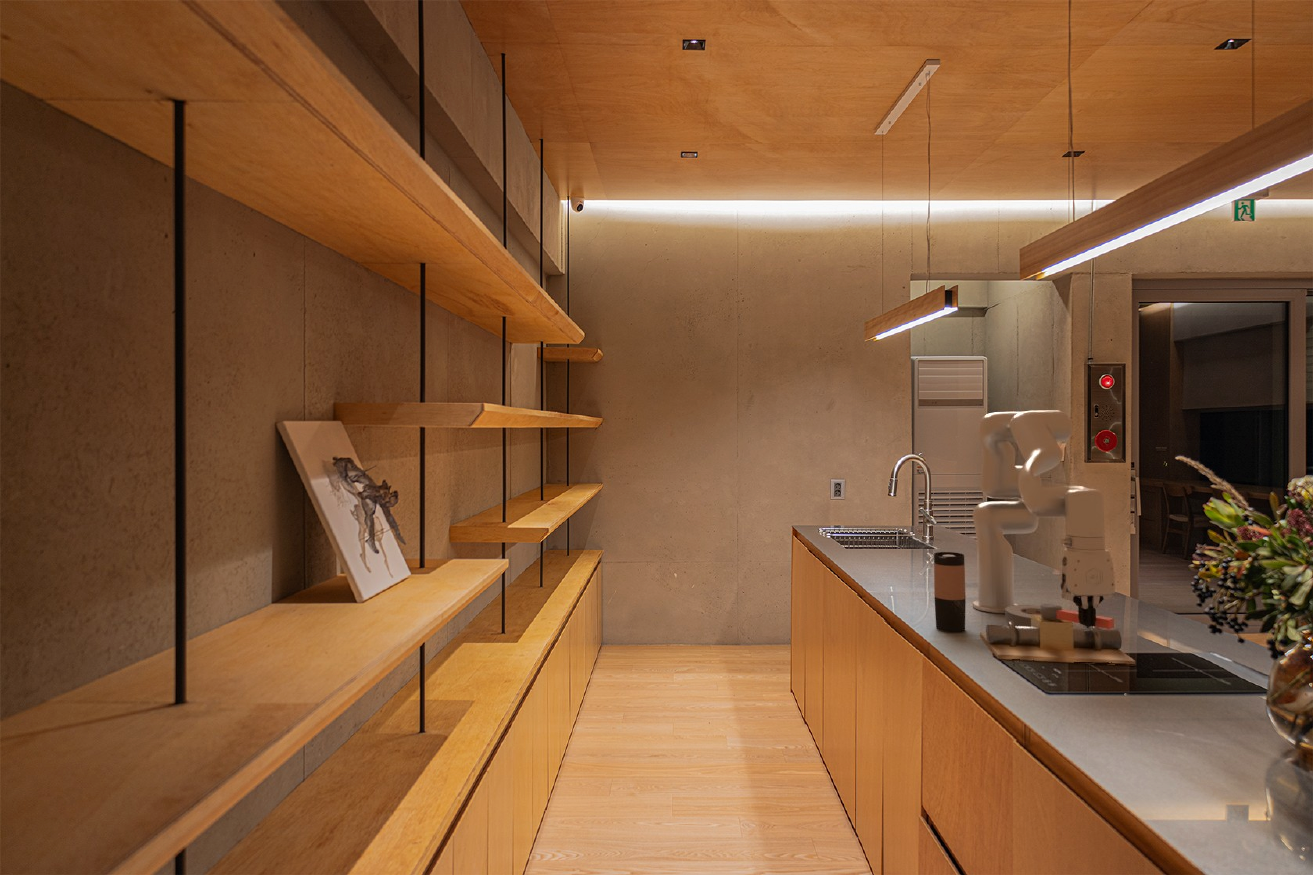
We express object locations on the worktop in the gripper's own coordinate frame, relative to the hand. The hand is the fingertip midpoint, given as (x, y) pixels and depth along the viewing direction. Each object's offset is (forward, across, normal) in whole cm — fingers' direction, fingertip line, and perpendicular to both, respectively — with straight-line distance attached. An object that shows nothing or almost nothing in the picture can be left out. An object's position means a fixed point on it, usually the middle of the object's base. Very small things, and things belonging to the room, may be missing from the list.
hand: (1087, 624), depth 155 cm
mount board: (+8, -3, +10) cm, 13 cm away
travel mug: (+8, -18, +29) cm, 35 cm away
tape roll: (+9, +4, +27) cm, 28 cm away
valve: (+8, -3, +10) cm, 13 cm away
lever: (+1, 0, +5) cm, 5 cm away
